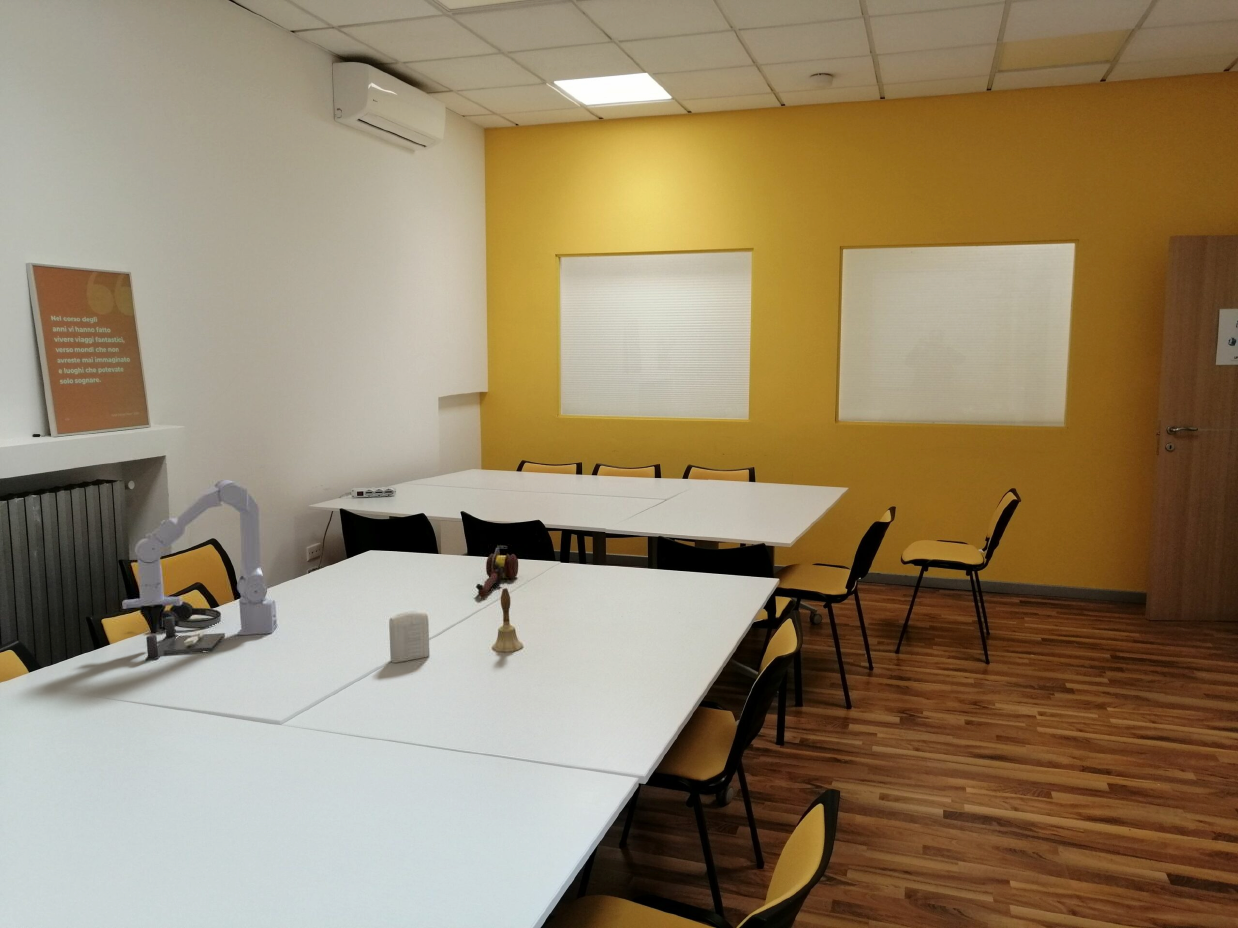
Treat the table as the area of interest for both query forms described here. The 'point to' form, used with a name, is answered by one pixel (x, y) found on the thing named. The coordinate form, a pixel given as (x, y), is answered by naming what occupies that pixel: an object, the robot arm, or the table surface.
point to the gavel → (498, 570)
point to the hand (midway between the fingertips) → (155, 632)
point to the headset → (186, 611)
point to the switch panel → (202, 644)
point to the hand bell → (506, 629)
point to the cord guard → (158, 650)
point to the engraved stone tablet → (409, 636)
